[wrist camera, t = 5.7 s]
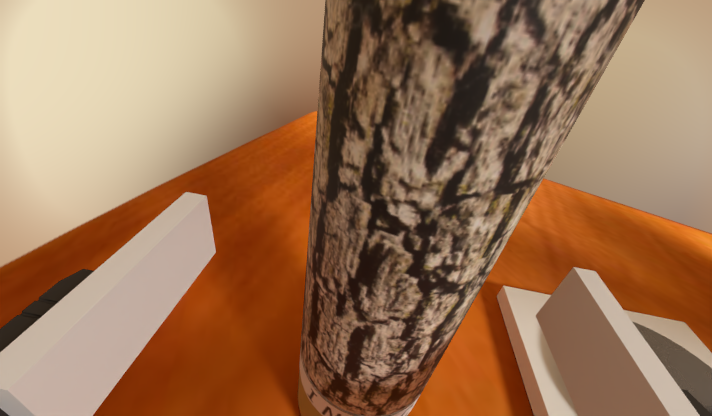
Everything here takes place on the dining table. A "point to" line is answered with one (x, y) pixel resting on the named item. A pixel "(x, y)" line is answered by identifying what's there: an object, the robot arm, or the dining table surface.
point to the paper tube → (429, 174)
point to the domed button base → (542, 377)
